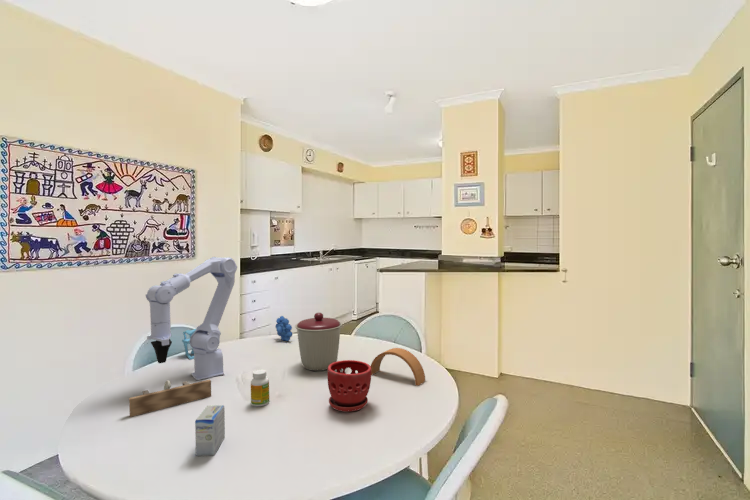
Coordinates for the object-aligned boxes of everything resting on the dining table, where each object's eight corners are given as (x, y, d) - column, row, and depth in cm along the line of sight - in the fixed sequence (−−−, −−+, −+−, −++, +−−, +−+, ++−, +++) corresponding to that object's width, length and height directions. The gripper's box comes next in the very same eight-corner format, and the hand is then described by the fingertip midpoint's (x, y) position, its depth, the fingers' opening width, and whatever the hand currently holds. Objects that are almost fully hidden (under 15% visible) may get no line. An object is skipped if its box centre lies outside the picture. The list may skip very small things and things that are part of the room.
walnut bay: (202, 386, 132) (201, 371, 132) (211, 396, 124) (210, 380, 123) (125, 404, 118) (125, 388, 118) (130, 417, 110) (129, 399, 110)
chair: (197, 351, 172) (196, 325, 171) (207, 355, 167) (206, 327, 166) (180, 356, 165) (179, 328, 165) (190, 359, 161) (189, 331, 160)
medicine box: (207, 439, 98) (206, 405, 97) (225, 438, 98) (224, 404, 98) (195, 456, 90) (194, 420, 89) (215, 455, 90) (214, 419, 90)
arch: (378, 370, 147) (377, 344, 146) (425, 381, 135) (425, 352, 135) (369, 374, 142) (369, 347, 142) (417, 386, 130) (417, 357, 130)
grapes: (269, 340, 189) (268, 316, 188) (280, 337, 194) (280, 314, 193) (284, 344, 181) (283, 319, 181) (295, 341, 186) (295, 316, 186)
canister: (286, 371, 146) (285, 315, 145) (311, 357, 163) (310, 307, 162) (328, 377, 139) (327, 319, 138) (350, 361, 156) (349, 309, 155)
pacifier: (155, 408, 116) (177, 402, 120) (154, 388, 115) (176, 382, 119) (149, 401, 121) (170, 395, 125) (148, 381, 121) (169, 376, 125)
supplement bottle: (264, 407, 115) (263, 375, 115) (247, 406, 116) (246, 374, 116) (272, 400, 120) (271, 369, 120) (256, 398, 121) (255, 368, 121)
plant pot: (337, 419, 107) (337, 376, 107) (321, 401, 119) (321, 363, 118) (379, 409, 113) (379, 368, 113) (360, 393, 125) (359, 356, 124)
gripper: (143, 319, 131) (144, 359, 132) (150, 327, 120) (152, 370, 120) (166, 316, 135) (167, 355, 136) (175, 324, 124) (177, 365, 125)
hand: (161, 362), depth 128 cm, fingers closed
